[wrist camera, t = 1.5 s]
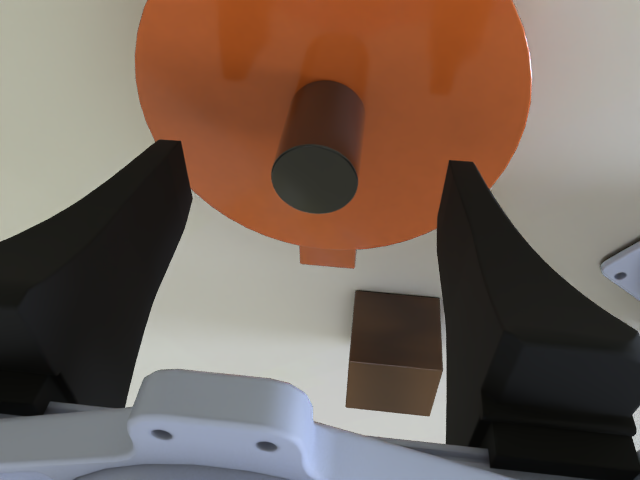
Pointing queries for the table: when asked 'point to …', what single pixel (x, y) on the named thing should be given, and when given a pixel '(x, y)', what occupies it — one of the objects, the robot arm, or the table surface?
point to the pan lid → (334, 107)
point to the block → (394, 353)
